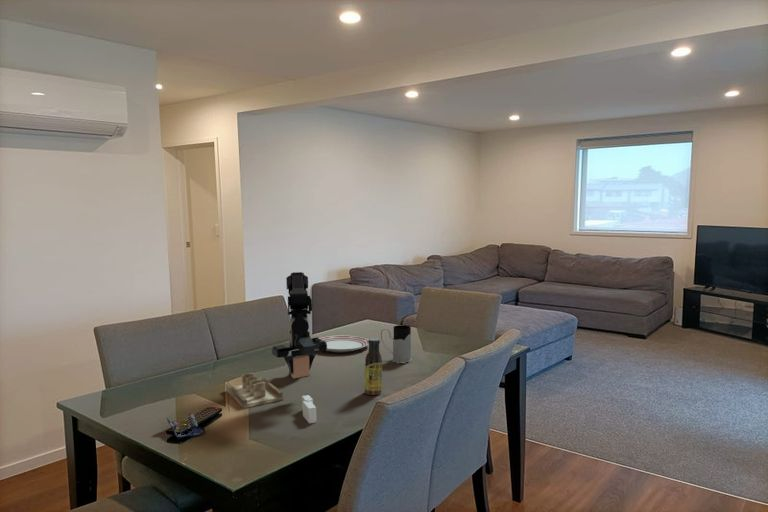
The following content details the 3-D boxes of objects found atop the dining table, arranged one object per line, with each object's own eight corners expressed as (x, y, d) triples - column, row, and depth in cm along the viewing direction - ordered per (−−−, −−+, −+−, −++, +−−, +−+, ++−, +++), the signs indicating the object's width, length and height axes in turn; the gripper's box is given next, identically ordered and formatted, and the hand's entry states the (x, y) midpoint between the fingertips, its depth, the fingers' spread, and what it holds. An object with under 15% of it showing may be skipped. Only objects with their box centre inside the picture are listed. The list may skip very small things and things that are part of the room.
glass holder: (409, 364, 226) (409, 330, 224) (377, 361, 230) (377, 327, 229) (414, 358, 234) (414, 325, 232) (384, 355, 238) (384, 323, 237)
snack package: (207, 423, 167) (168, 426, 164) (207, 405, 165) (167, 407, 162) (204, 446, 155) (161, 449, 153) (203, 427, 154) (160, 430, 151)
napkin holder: (319, 427, 163) (318, 409, 163) (284, 424, 166) (284, 406, 165) (334, 409, 178) (334, 393, 177) (302, 406, 180) (302, 390, 180)
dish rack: (262, 383, 202) (262, 368, 201) (282, 399, 185) (282, 382, 185) (226, 391, 194) (225, 374, 194) (243, 408, 178) (243, 390, 177)
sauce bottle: (369, 397, 187) (368, 342, 185) (361, 391, 193) (361, 338, 191) (385, 394, 190) (385, 340, 188) (377, 388, 196) (377, 336, 194)
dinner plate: (338, 337, 272) (338, 331, 272) (381, 345, 256) (381, 339, 256) (300, 349, 250) (300, 343, 250) (344, 359, 234) (344, 352, 234)
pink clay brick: (307, 373, 188) (306, 354, 188) (309, 375, 187) (309, 356, 186) (291, 376, 185) (291, 357, 184) (293, 378, 183) (293, 358, 183)
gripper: (283, 336, 173) (284, 383, 174) (334, 329, 183) (334, 373, 184) (270, 330, 182) (271, 374, 183) (319, 323, 192) (320, 365, 193)
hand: (300, 371), depth 186 cm, fingers closed on pink clay brick, 6 cm apart
